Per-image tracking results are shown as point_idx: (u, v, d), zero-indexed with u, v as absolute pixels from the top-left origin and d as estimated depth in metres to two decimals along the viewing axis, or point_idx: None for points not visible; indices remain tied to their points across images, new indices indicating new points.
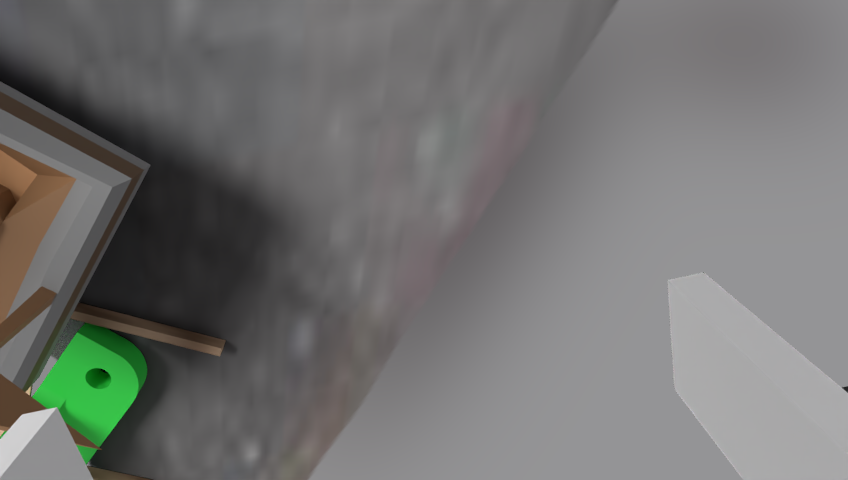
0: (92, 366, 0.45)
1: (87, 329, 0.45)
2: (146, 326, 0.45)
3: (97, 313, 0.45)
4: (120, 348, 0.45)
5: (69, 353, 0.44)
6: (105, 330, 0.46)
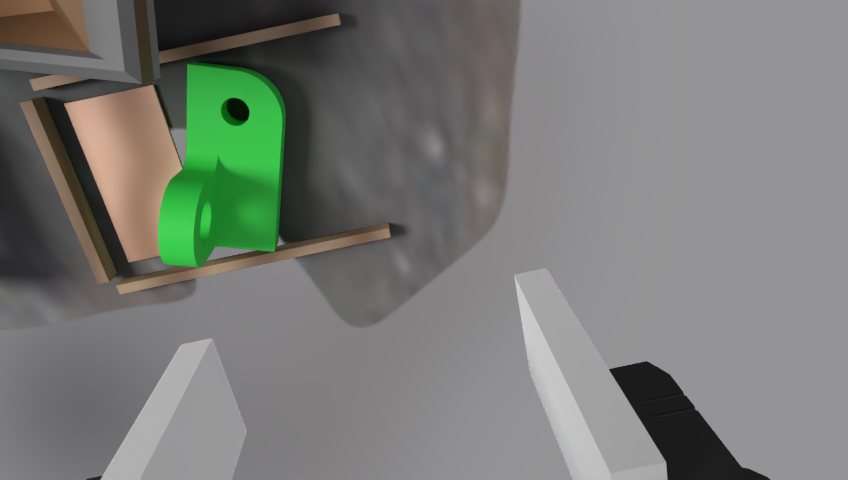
0: (222, 99, 0.40)
1: (197, 63, 0.40)
2: None
3: (198, 43, 0.40)
4: (239, 69, 0.40)
5: (193, 94, 0.39)
6: (216, 64, 0.41)
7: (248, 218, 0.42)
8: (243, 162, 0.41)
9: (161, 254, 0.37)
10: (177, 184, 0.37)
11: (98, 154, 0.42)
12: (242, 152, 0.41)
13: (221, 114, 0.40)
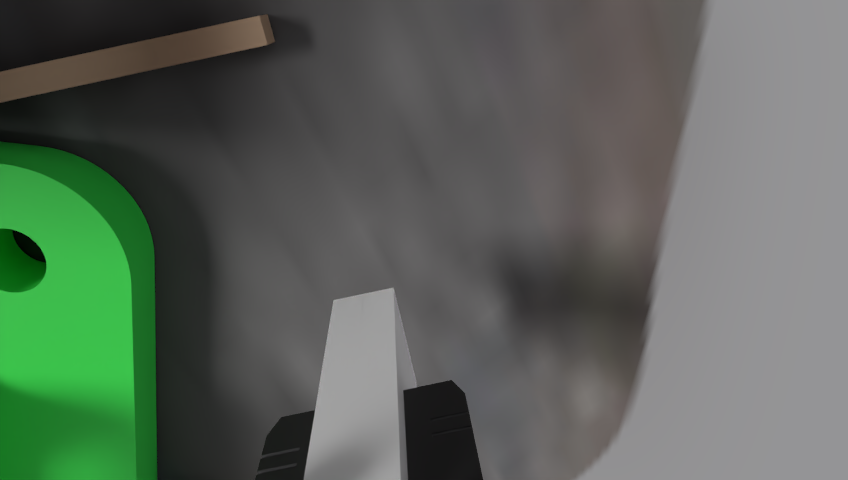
0: None
1: None
2: None
3: None
4: (16, 157, 0.16)
5: None
6: None
7: None
8: (45, 370, 0.17)
9: None
10: None
11: None
12: (39, 349, 0.17)
13: None
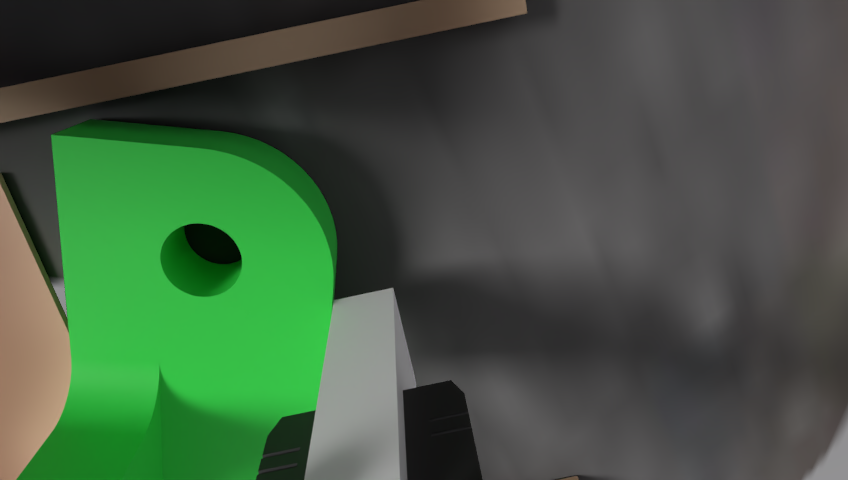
0: (162, 229, 0.14)
1: (88, 129, 0.14)
2: None
3: None
4: (210, 142, 0.14)
5: (77, 217, 0.14)
6: (149, 127, 0.15)
7: None
8: (229, 385, 0.15)
9: None
10: None
11: None
12: (226, 361, 0.15)
13: (163, 268, 0.14)
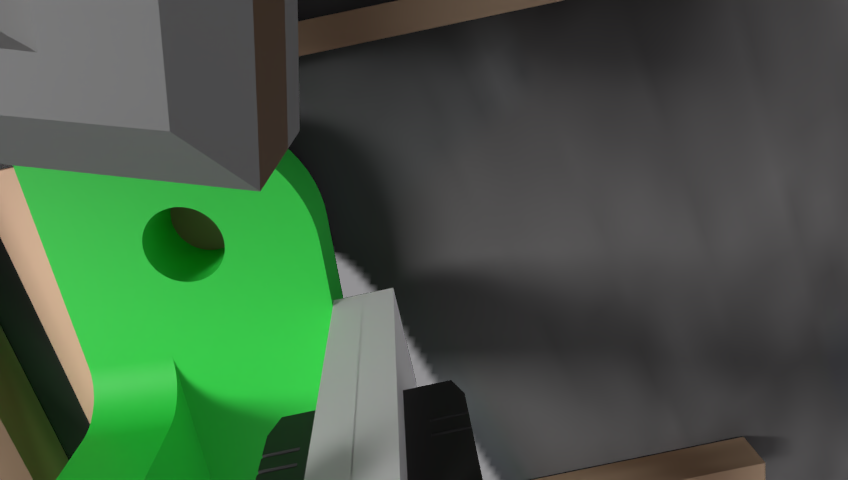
0: (137, 221, 0.14)
1: None
2: None
3: None
4: None
5: (55, 228, 0.14)
6: None
7: None
8: (245, 365, 0.15)
9: None
10: None
11: None
12: (235, 342, 0.15)
13: (150, 260, 0.14)
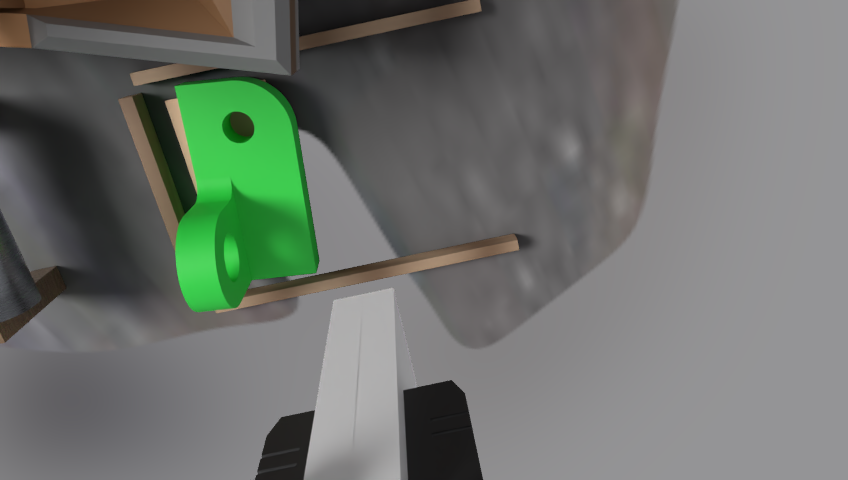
0: (221, 116, 0.35)
1: (186, 83, 0.35)
2: (380, 19, 0.35)
3: (320, 32, 0.35)
4: (233, 79, 0.35)
5: (188, 118, 0.35)
6: (208, 80, 0.36)
7: (279, 241, 0.38)
8: (260, 181, 0.36)
9: (188, 302, 0.33)
10: (189, 221, 0.33)
11: None
12: (256, 170, 0.36)
13: (224, 133, 0.35)
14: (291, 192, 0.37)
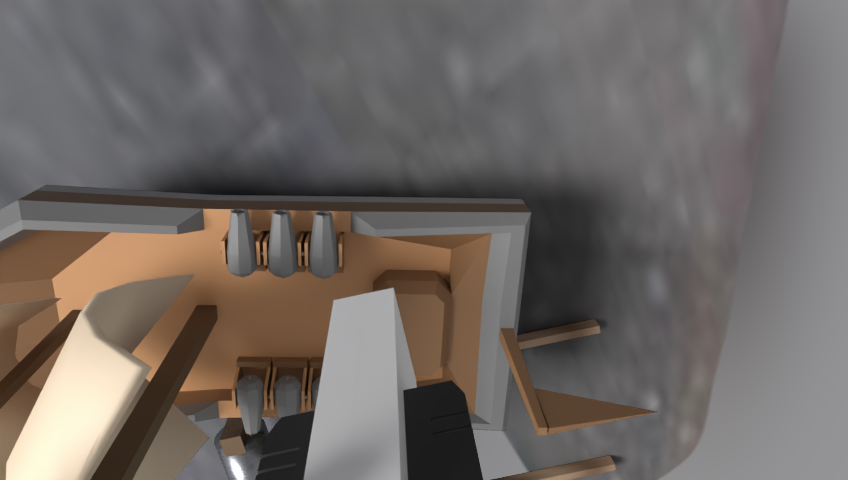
0: None
1: None
2: (532, 337, 0.52)
3: None
4: None
5: None
6: None
7: None
8: None
9: None
10: None
11: None
12: None
13: None
14: None
